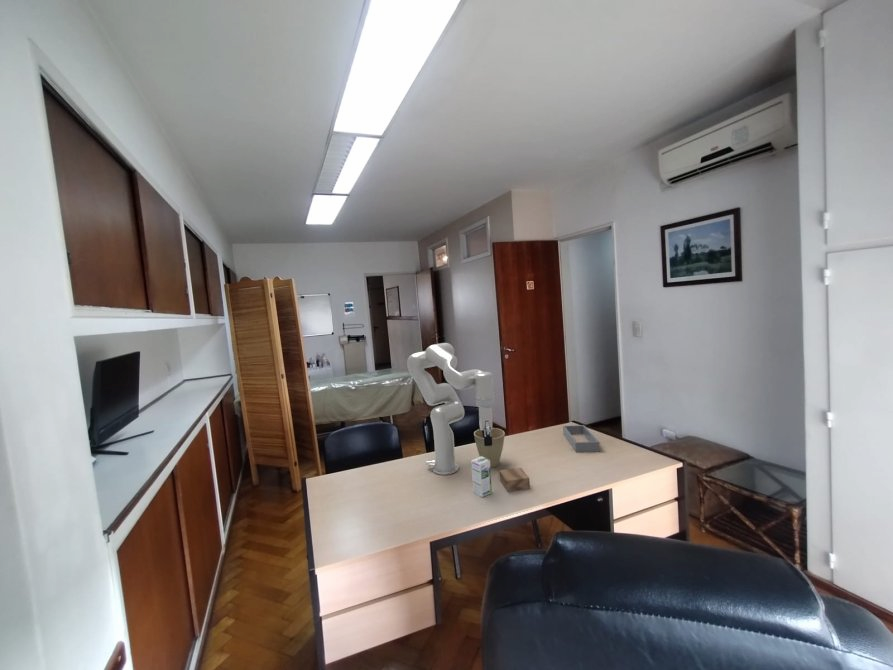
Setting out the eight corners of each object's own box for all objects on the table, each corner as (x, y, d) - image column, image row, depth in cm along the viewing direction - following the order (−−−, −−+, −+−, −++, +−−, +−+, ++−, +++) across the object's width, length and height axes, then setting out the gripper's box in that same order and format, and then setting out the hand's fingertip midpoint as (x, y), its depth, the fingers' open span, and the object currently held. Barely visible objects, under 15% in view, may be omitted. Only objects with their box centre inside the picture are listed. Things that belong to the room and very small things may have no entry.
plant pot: (470, 468, 183) (469, 436, 182) (482, 456, 196) (480, 426, 195) (500, 473, 176) (498, 440, 175) (510, 460, 189) (508, 429, 188)
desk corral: (575, 452, 194) (575, 442, 194) (563, 434, 220) (562, 425, 219) (599, 451, 193) (599, 442, 193) (584, 433, 219) (584, 425, 219)
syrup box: (482, 497, 156) (480, 463, 154) (472, 492, 160) (470, 459, 159) (492, 493, 159) (490, 459, 158) (482, 487, 164) (481, 455, 162)
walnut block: (507, 492, 159) (506, 481, 159) (499, 481, 169) (499, 470, 168) (529, 489, 161) (529, 477, 160) (521, 478, 171) (520, 467, 170)
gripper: (475, 396, 167) (477, 434, 169) (477, 408, 150) (479, 449, 151) (492, 395, 167) (494, 433, 168) (496, 407, 150) (498, 448, 151)
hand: (487, 441), depth 160 cm, fingers open, 9 cm apart
